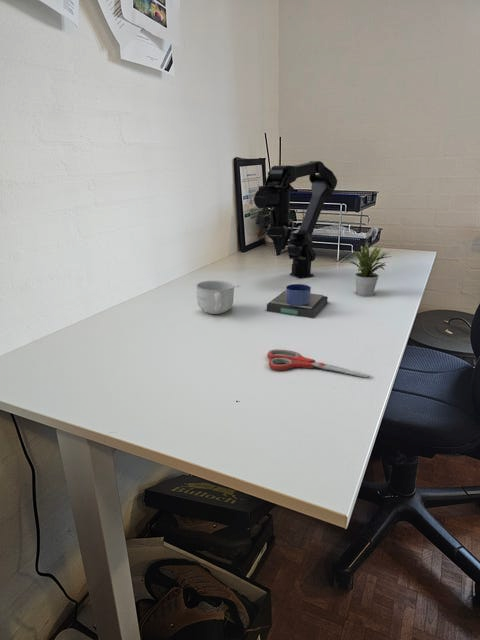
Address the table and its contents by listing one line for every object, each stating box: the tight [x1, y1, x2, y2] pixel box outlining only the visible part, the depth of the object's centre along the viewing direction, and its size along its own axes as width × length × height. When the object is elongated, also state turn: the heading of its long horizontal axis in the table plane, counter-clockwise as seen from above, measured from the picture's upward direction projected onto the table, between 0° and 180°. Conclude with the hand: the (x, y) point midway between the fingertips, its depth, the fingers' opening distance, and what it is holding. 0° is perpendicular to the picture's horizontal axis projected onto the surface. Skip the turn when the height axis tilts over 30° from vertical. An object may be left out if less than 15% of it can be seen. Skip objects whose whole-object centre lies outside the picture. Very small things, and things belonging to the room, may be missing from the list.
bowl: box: [285, 283, 312, 306], centre depth 113 cm, size 7×7×4 cm
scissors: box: [266, 348, 370, 378], centre depth 84 cm, size 8×21×2 cm, turn 78°
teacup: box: [195, 280, 235, 315], centre depth 114 cm, size 14×11×8 cm
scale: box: [266, 290, 329, 319], centre depth 118 cm, size 14×14×2 cm
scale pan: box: [270, 290, 325, 309], centre depth 118 cm, size 12×12×1 cm
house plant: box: [347, 243, 393, 297], centre depth 125 cm, size 14×14×16 cm
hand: (280, 252), depth 139 cm, fingers open, 9 cm apart
